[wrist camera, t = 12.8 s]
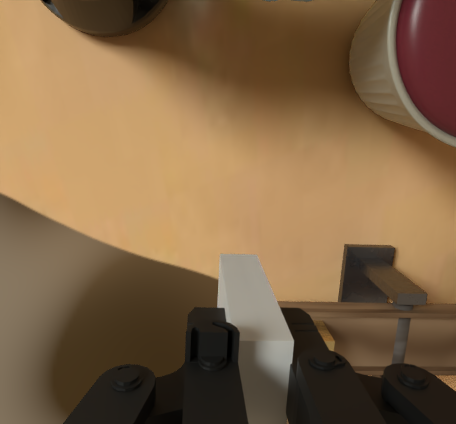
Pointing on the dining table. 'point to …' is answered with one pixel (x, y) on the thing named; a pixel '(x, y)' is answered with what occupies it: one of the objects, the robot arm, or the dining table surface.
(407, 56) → the canister
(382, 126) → the dining table surface
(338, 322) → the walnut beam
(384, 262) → the beam stand
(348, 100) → the dining table surface
